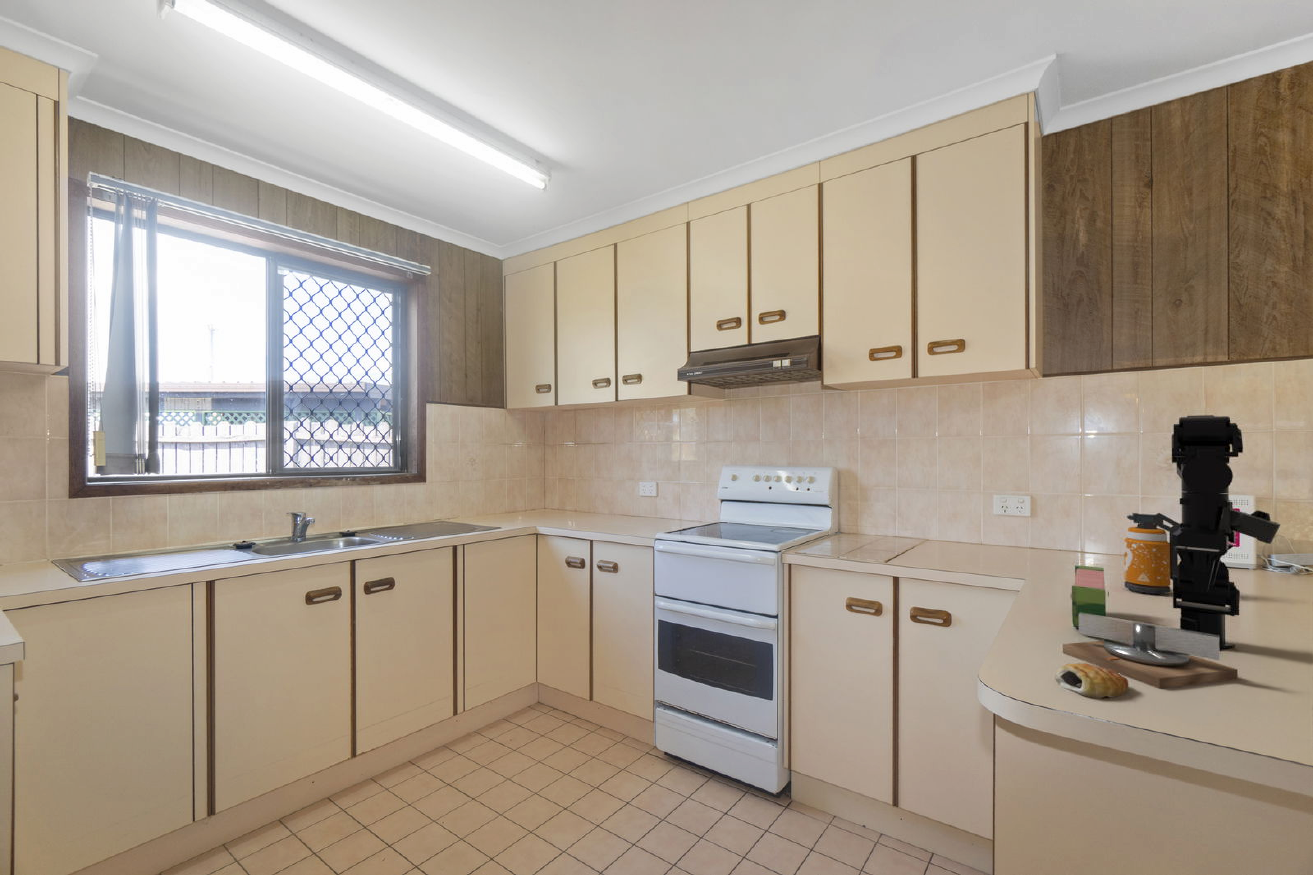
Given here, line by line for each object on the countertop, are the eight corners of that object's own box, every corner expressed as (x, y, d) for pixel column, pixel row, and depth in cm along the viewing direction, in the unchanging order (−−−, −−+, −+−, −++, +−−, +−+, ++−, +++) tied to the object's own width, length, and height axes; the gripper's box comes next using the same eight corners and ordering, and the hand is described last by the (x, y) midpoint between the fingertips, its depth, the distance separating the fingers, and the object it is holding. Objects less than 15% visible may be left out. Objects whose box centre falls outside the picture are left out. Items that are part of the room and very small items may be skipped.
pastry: (1100, 679, 93) (1100, 655, 93) (1144, 697, 87) (1144, 671, 87) (1050, 684, 91) (1050, 659, 91) (1090, 702, 85) (1090, 676, 85)
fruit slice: (1073, 609, 134) (1072, 564, 134) (1108, 613, 130) (1107, 568, 130) (1069, 638, 113) (1068, 585, 113) (1110, 645, 109) (1110, 590, 109)
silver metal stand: (1121, 636, 108) (1121, 609, 108) (1226, 669, 92) (1226, 636, 93) (1073, 641, 106) (1073, 612, 106) (1172, 675, 90) (1172, 641, 90)
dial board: (1133, 645, 109) (1133, 636, 109) (1237, 679, 93) (1237, 668, 93) (1062, 652, 105) (1062, 643, 105) (1159, 688, 89) (1159, 677, 89)
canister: (1122, 586, 157) (1121, 510, 157) (1176, 591, 151) (1176, 512, 152) (1127, 593, 149) (1126, 513, 150) (1185, 599, 144) (1184, 515, 144)
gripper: (1273, 497, 85) (1275, 607, 85) (1277, 494, 98) (1278, 590, 97) (1171, 492, 94) (1172, 593, 93) (1187, 491, 106) (1187, 579, 106)
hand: (1205, 589), depth 97 cm, fingers open, 9 cm apart
